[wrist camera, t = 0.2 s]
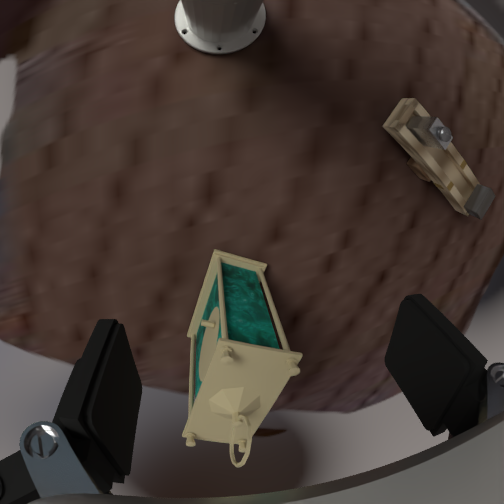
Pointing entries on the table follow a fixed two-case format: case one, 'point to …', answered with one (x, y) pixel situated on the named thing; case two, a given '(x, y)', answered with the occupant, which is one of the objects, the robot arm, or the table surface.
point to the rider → (430, 131)
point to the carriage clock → (235, 355)
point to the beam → (439, 163)
